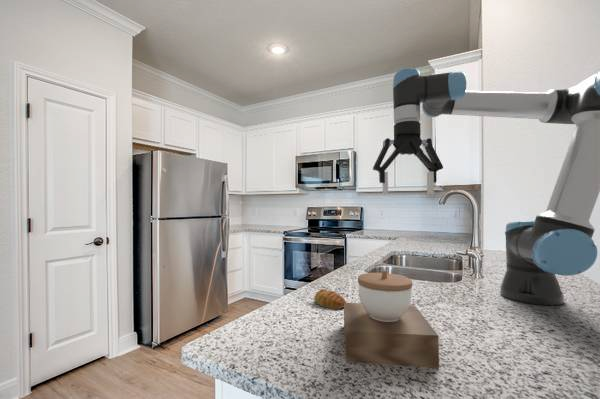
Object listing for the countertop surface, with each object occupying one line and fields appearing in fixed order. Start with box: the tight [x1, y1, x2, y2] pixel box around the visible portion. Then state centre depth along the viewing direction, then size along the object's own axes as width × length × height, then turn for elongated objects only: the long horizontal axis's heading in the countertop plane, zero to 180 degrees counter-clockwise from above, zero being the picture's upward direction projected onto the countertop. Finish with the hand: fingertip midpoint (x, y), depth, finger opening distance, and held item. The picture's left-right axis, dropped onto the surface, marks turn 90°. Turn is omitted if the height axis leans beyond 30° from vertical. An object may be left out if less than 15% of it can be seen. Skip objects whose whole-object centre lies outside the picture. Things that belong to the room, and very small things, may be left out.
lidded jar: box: [357, 269, 413, 322], centre depth 60 cm, size 11×11×9 cm
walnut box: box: [343, 302, 440, 369], centre depth 60 cm, size 16×16×6 cm
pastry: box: [313, 288, 347, 310], centre depth 84 cm, size 9×7×4 cm
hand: (408, 194), depth 87 cm, fingers open, 13 cm apart
